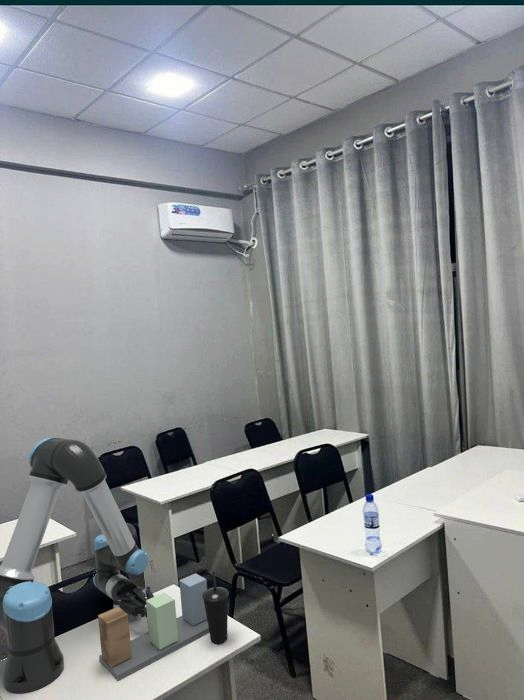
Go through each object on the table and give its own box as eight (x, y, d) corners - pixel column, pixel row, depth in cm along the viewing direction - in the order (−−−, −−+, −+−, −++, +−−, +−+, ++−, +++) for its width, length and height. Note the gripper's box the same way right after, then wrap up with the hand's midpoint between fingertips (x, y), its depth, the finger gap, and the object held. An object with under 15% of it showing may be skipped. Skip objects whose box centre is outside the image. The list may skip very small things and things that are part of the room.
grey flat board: (99, 660, 145) (99, 655, 145) (195, 613, 165) (195, 609, 165) (118, 680, 135) (117, 675, 135) (217, 628, 156) (217, 623, 156)
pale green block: (149, 641, 149) (145, 600, 149) (167, 632, 153) (164, 592, 152) (159, 650, 144) (156, 608, 144) (178, 640, 148) (174, 599, 148)
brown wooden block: (101, 657, 143) (97, 615, 143) (122, 647, 147) (118, 606, 146) (111, 667, 138) (107, 623, 138) (131, 656, 142) (127, 614, 142)
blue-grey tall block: (182, 618, 160) (179, 580, 159) (198, 610, 164) (195, 573, 163) (193, 625, 155) (189, 586, 155) (209, 617, 159) (206, 579, 159)
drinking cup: (220, 650, 145) (214, 580, 144) (200, 642, 150) (194, 574, 149) (237, 636, 151) (232, 569, 150) (218, 628, 156) (212, 563, 155)
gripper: (140, 593, 173) (178, 619, 156) (103, 609, 165) (139, 639, 147) (138, 571, 173) (176, 595, 155) (101, 586, 165) (136, 613, 147)
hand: (158, 616), depth 151 cm, fingers closed
